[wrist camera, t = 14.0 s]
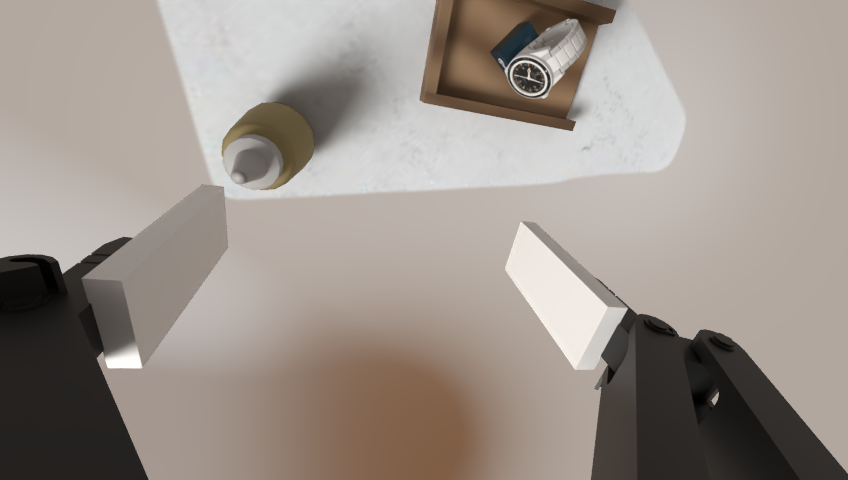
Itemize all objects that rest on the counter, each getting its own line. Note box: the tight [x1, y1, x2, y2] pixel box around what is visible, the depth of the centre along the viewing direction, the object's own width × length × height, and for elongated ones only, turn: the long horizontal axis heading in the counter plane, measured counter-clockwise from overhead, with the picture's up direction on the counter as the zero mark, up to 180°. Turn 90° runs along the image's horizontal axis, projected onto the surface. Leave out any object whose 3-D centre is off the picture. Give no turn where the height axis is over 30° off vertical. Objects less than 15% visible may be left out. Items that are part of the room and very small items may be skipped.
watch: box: [490, 19, 587, 99], centre depth 37 cm, size 6×8×11 cm
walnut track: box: [420, 0, 616, 131], centre depth 41 cm, size 13×20×4 cm
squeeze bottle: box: [222, 102, 315, 190], centre depth 34 cm, size 8×8×18 cm
